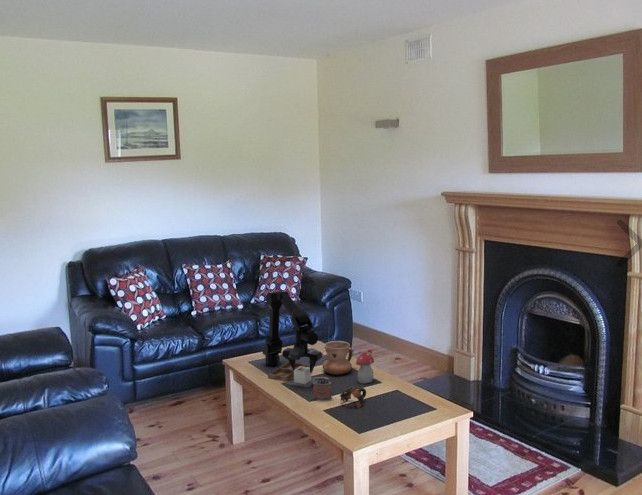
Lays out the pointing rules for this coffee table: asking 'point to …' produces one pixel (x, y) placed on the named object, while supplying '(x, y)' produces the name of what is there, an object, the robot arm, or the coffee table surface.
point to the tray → (285, 372)
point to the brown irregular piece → (355, 393)
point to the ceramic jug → (337, 357)
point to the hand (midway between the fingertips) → (302, 371)
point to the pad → (302, 384)
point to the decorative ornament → (365, 367)
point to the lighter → (322, 389)
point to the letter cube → (302, 375)
